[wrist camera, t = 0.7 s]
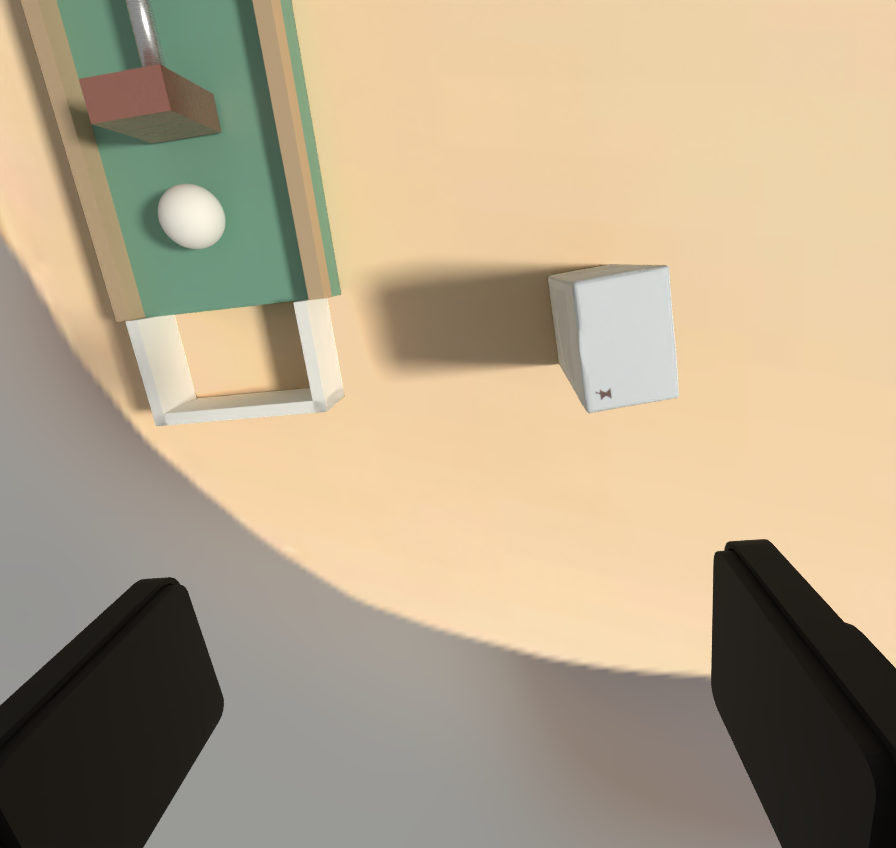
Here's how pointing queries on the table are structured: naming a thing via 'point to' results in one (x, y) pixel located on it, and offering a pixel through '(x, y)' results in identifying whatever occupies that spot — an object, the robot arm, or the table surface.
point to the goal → (180, 405)
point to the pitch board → (195, 155)
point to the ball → (191, 216)
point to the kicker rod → (149, 92)
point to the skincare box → (616, 334)
